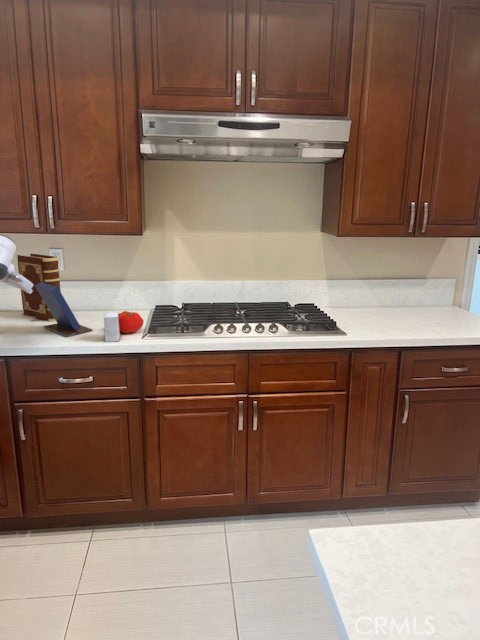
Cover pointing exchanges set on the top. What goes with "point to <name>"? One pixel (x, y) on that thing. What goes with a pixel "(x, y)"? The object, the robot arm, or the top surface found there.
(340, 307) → the top surface
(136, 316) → the tomato
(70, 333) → the brown flat board
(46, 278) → the decorative book
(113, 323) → the small box
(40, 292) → the book
